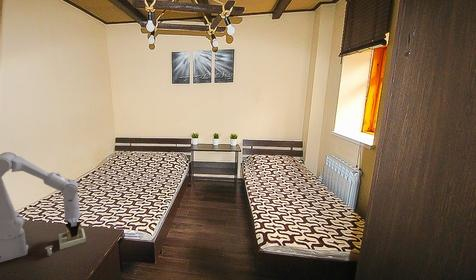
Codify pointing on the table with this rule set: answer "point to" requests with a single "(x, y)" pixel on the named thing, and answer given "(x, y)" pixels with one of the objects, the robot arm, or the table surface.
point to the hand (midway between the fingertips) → (73, 233)
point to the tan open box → (70, 235)
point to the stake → (49, 250)
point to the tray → (66, 244)
